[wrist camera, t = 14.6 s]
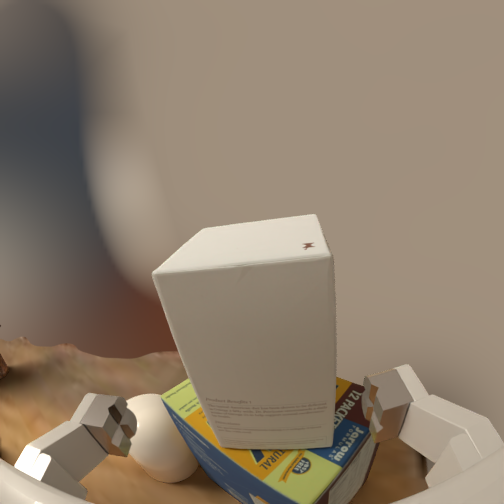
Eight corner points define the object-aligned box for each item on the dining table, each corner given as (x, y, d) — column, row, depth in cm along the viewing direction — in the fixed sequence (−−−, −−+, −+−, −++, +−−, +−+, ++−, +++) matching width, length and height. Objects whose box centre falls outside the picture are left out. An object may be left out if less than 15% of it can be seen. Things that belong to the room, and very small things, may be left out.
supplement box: (329, 372, 20) (321, 211, 16) (333, 450, 13) (336, 252, 9) (237, 376, 22) (202, 225, 18) (215, 448, 15) (145, 270, 11)
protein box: (265, 428, 32) (245, 337, 27) (368, 478, 21) (396, 393, 16) (205, 476, 25) (156, 395, 20) (309, 547, 14) (310, 511, 9)
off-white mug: (212, 451, 29) (191, 410, 26) (174, 493, 22) (141, 458, 19) (159, 422, 34) (135, 380, 31) (123, 454, 28) (91, 414, 25)
